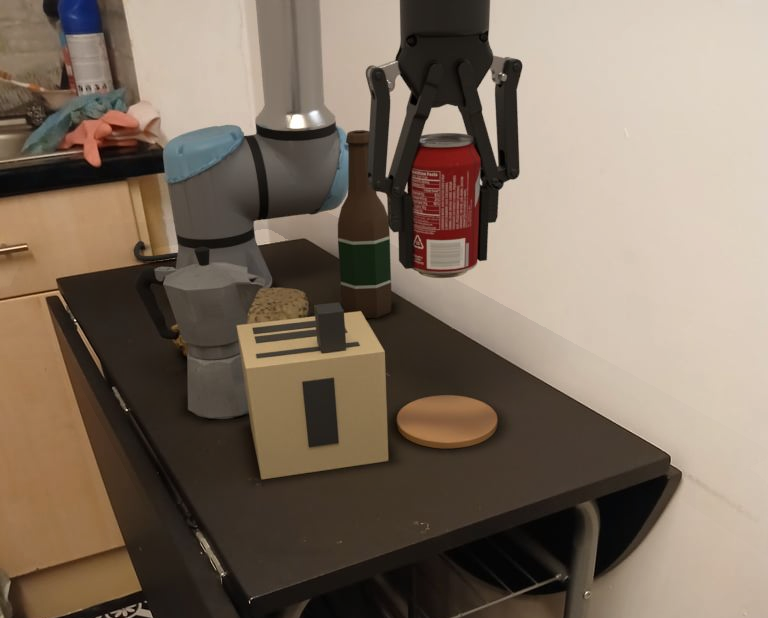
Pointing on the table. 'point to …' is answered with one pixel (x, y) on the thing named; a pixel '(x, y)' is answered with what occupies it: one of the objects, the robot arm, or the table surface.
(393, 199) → the robot arm
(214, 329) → the coffeepot
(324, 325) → the browning slider
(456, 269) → the soda can
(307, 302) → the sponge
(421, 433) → the coaster
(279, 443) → the toaster
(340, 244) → the beer bottle
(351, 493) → the table surface
